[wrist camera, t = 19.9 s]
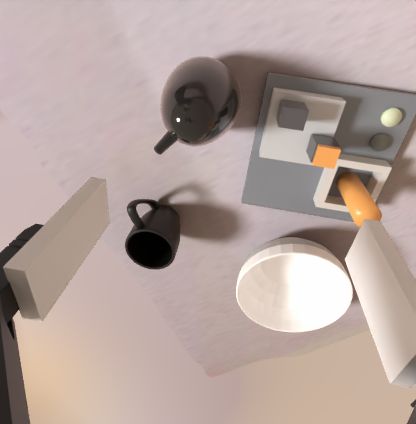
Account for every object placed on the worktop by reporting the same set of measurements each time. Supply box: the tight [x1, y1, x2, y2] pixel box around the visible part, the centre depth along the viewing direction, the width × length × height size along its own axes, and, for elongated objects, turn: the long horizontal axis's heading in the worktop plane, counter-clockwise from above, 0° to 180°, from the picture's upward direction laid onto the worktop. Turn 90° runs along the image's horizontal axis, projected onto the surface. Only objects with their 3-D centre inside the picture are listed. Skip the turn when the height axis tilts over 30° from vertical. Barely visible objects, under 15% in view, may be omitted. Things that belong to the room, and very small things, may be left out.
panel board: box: [242, 72, 416, 222], centre depth 44 cm, size 20×20×4 cm
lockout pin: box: [336, 171, 382, 227], centre depth 42 cm, size 3×3×10 cm
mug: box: [125, 199, 180, 269], centre depth 51 cm, size 8×12×10 cm
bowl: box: [236, 237, 353, 332], centre depth 54 cm, size 19×19×9 cm
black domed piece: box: [154, 57, 242, 154], centre depth 37 cm, size 10×10×15 cm
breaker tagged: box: [306, 134, 341, 169], centre depth 39 cm, size 2×3×5 cm
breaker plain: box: [276, 99, 309, 131], centre depth 37 cm, size 2×3×4 cm
